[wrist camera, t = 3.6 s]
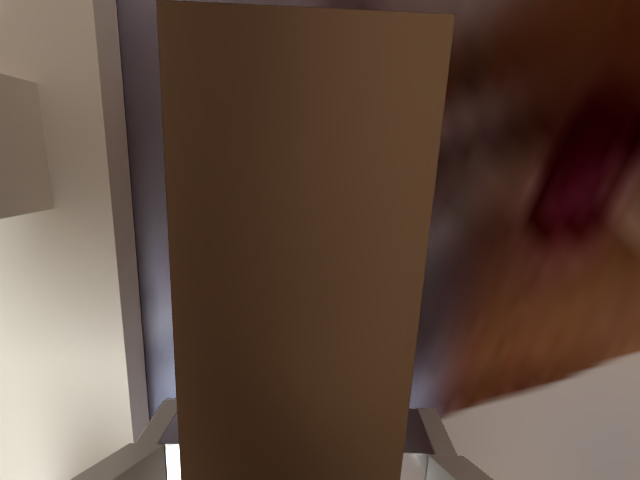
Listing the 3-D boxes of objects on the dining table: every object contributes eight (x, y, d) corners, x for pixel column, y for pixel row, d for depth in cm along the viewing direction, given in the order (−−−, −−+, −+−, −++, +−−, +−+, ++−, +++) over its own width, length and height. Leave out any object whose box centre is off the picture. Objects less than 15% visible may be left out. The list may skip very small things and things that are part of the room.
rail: (388, 86, 10) (455, 14, 5) (346, 588, 14) (359, 826, 9) (240, 79, 10) (155, -1, 5) (242, 584, 14) (197, 819, 9)
